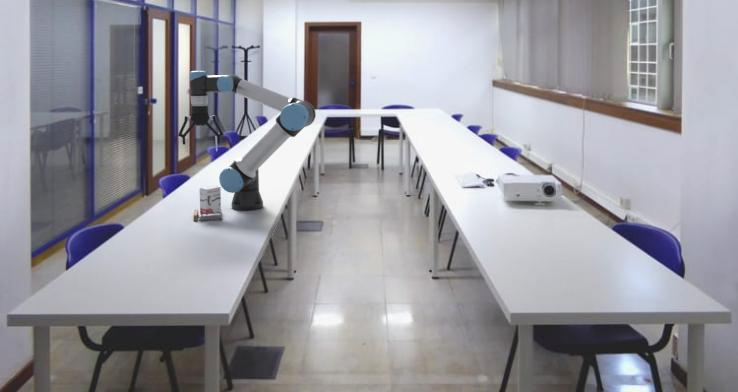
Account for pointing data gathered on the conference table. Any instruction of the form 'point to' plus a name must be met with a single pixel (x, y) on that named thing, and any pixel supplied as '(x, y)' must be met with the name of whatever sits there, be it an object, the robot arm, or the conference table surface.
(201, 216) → the frame
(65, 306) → the conference table surface
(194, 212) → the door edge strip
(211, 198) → the ink box
